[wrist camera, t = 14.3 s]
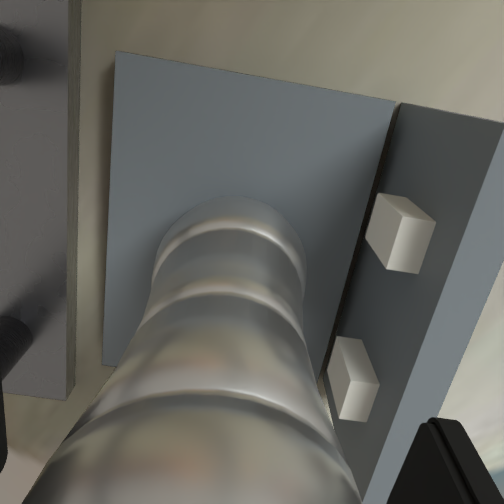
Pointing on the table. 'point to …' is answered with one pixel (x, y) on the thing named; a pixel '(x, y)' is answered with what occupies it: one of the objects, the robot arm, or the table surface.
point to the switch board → (321, 229)
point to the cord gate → (39, 195)
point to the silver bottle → (210, 381)
